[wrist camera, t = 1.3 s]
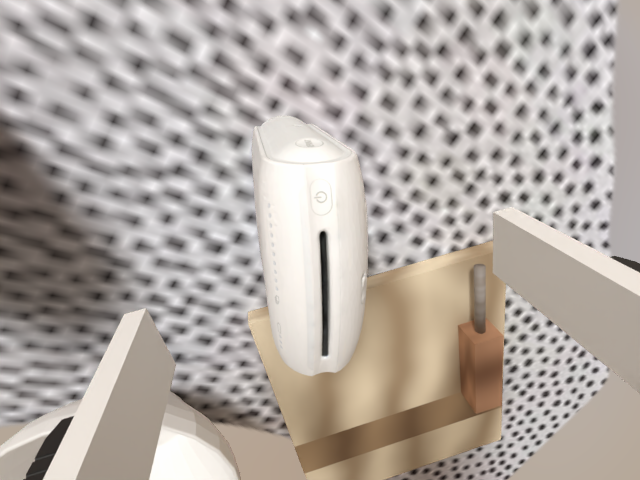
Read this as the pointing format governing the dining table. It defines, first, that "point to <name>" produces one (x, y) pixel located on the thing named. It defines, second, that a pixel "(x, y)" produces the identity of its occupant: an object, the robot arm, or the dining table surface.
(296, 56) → the dining table surface
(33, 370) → the dining table surface
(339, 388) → the light wooden cutting board
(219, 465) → the bowl
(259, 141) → the photo printer
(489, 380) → the awl
